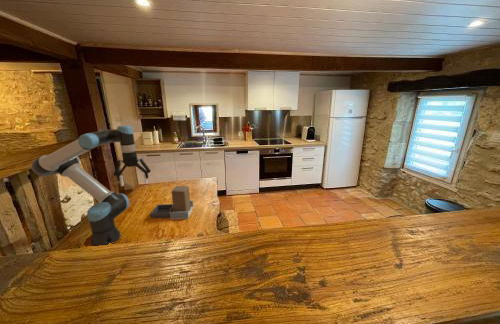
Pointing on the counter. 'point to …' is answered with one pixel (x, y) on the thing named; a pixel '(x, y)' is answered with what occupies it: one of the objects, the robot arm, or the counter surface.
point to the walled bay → (181, 213)
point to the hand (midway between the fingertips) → (134, 184)
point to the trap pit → (162, 211)
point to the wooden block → (181, 199)
